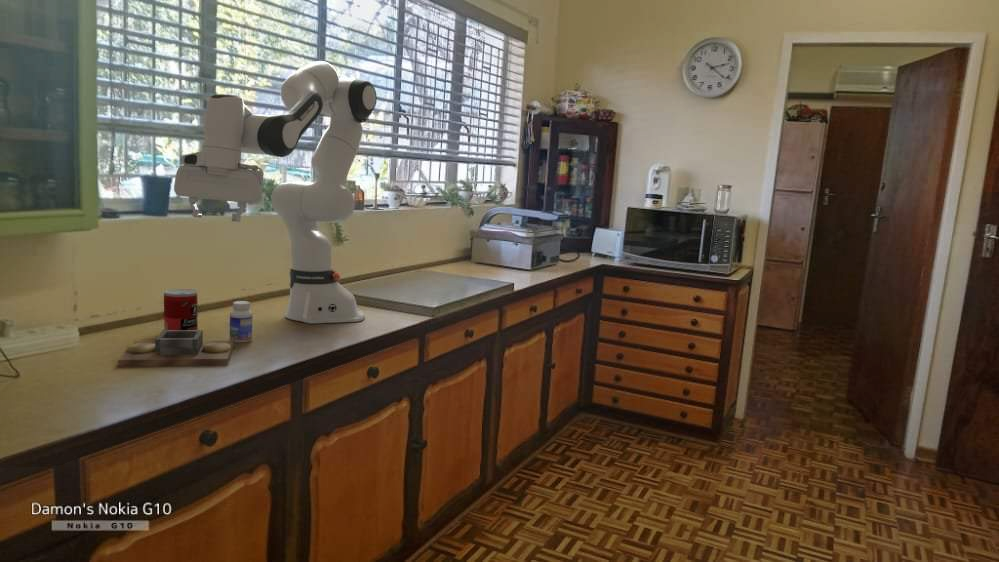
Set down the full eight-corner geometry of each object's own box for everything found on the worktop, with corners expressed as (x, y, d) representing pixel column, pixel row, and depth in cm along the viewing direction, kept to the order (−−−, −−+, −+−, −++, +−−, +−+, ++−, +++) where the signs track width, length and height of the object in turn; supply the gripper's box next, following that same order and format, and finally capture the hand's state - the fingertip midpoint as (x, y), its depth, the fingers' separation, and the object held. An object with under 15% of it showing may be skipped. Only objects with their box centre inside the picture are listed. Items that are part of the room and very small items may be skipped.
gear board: (234, 346, 174) (234, 326, 174) (227, 365, 159) (227, 343, 158) (135, 347, 169) (134, 326, 168) (118, 366, 153) (117, 344, 153)
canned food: (185, 338, 179) (185, 295, 177) (157, 335, 180) (156, 292, 178) (204, 332, 186) (203, 290, 184) (176, 328, 188) (176, 287, 186)
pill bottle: (225, 339, 180) (225, 301, 179) (245, 336, 184) (245, 299, 183) (236, 344, 177) (236, 305, 175) (256, 341, 181) (256, 303, 179)
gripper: (268, 167, 175) (263, 224, 176) (185, 158, 175) (180, 215, 176) (259, 164, 169) (254, 223, 170) (173, 155, 169) (168, 214, 170)
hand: (216, 219), depth 173 cm, fingers open, 8 cm apart
